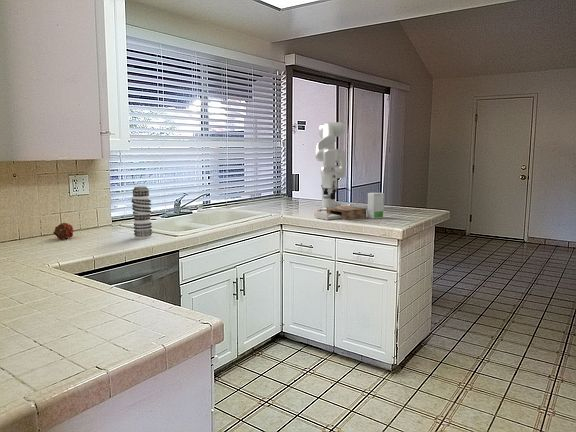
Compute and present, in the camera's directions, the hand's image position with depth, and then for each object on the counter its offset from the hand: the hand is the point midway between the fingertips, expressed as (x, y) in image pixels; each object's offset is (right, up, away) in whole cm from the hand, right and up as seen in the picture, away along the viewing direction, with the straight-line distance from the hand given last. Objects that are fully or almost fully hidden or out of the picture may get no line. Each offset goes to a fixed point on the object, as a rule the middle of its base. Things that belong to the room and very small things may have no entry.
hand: (329, 198), depth 281 cm
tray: (+1, -12, +3) cm, 12 cm away
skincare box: (+29, -12, +3) cm, 31 cm away
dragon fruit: (-136, -22, -56) cm, 149 cm away
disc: (0, 0, 0) cm, 0 cm away
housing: (+11, -11, +9) cm, 18 cm away
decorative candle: (-97, -21, -54) cm, 114 cm away
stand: (-6, -10, +14) cm, 19 cm away
